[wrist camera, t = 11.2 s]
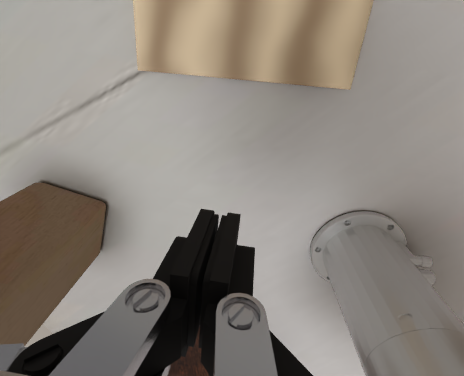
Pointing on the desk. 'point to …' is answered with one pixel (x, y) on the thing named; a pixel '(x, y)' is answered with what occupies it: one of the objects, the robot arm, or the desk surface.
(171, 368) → the wooden bowl
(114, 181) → the desk surface
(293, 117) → the desk surface
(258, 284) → the desk surface
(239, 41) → the board
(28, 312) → the wooden block
